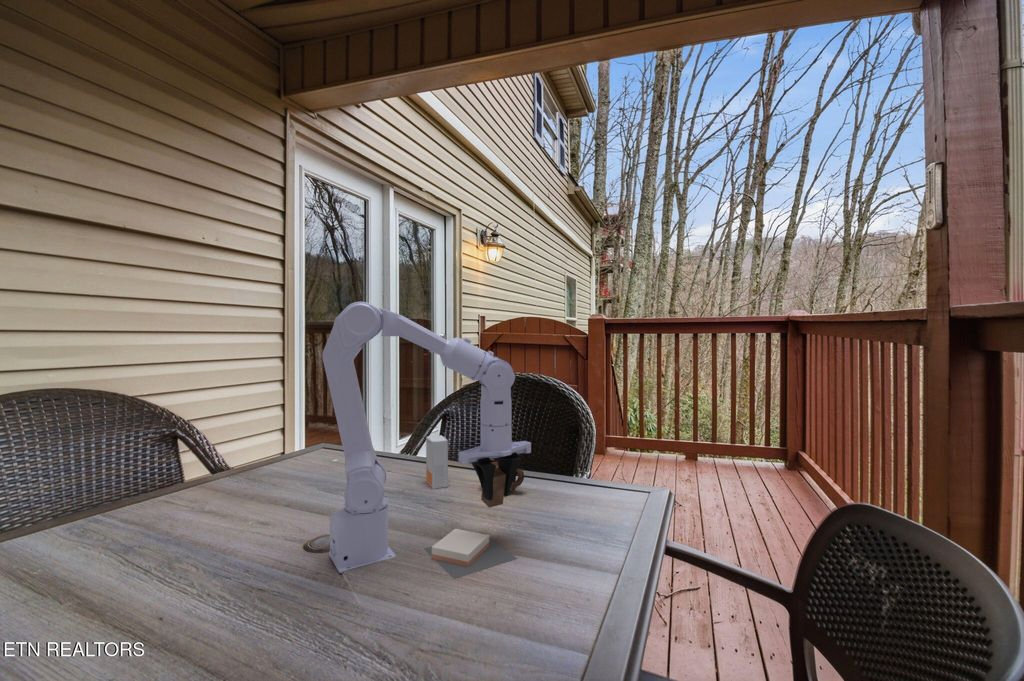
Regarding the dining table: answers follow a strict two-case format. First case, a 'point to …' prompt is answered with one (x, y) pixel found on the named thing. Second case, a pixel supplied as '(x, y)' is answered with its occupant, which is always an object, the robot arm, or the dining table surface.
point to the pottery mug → (520, 477)
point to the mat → (478, 560)
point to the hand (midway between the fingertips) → (496, 496)
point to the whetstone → (460, 547)
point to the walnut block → (496, 489)
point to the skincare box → (437, 461)
